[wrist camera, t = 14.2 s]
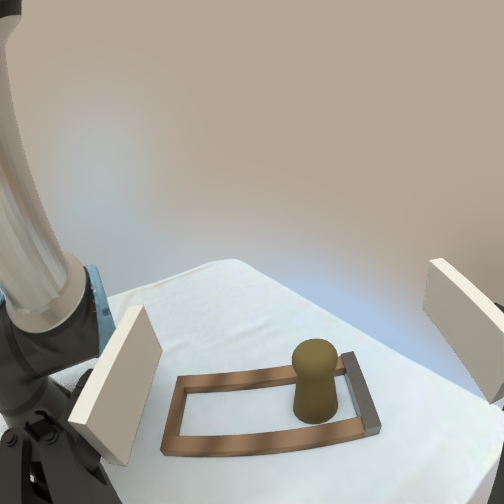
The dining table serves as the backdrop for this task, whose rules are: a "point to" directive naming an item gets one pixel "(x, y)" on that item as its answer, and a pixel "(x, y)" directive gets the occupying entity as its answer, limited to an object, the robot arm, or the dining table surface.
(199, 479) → the dining table surface
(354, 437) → the walnut channel
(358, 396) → the end stop
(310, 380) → the cork
